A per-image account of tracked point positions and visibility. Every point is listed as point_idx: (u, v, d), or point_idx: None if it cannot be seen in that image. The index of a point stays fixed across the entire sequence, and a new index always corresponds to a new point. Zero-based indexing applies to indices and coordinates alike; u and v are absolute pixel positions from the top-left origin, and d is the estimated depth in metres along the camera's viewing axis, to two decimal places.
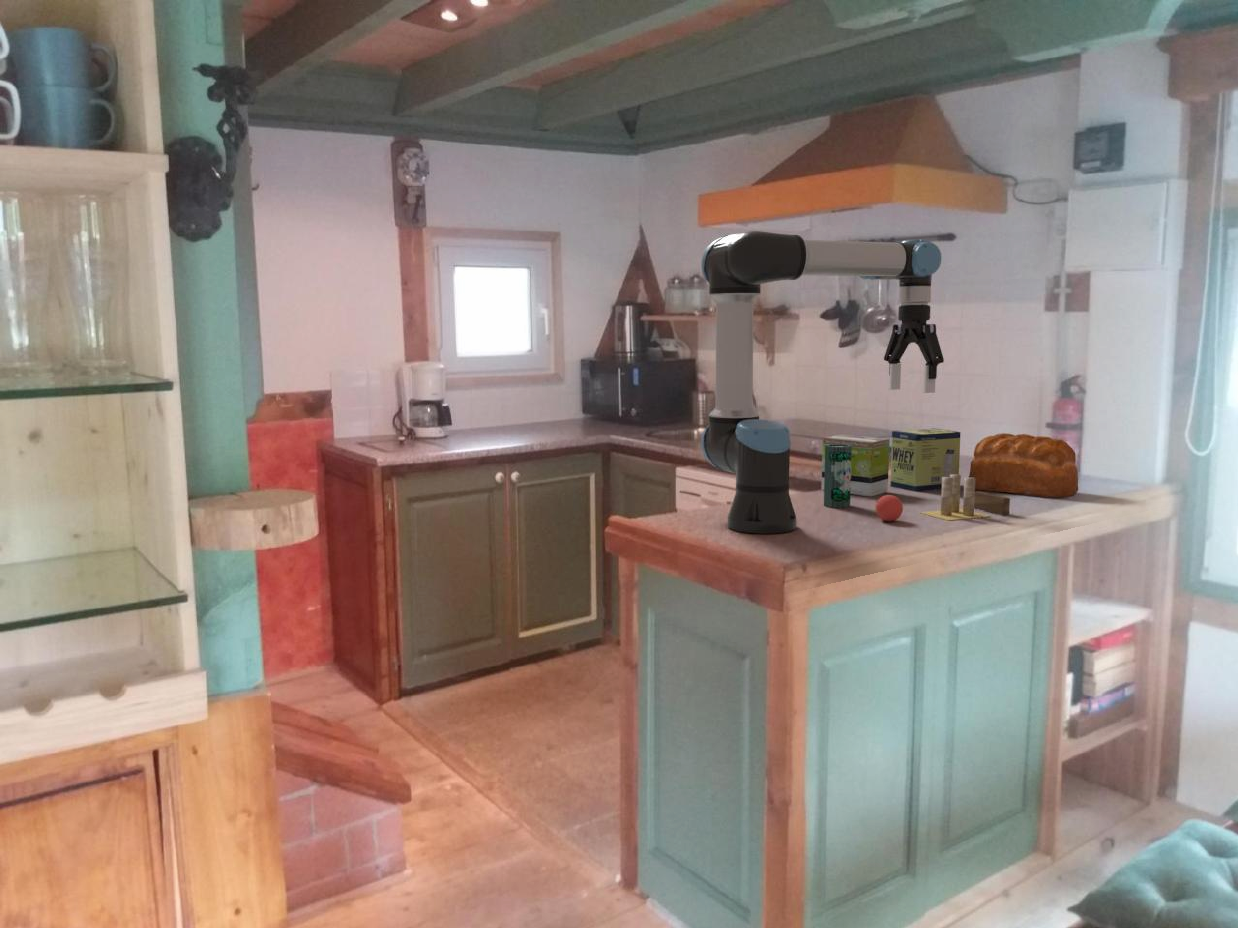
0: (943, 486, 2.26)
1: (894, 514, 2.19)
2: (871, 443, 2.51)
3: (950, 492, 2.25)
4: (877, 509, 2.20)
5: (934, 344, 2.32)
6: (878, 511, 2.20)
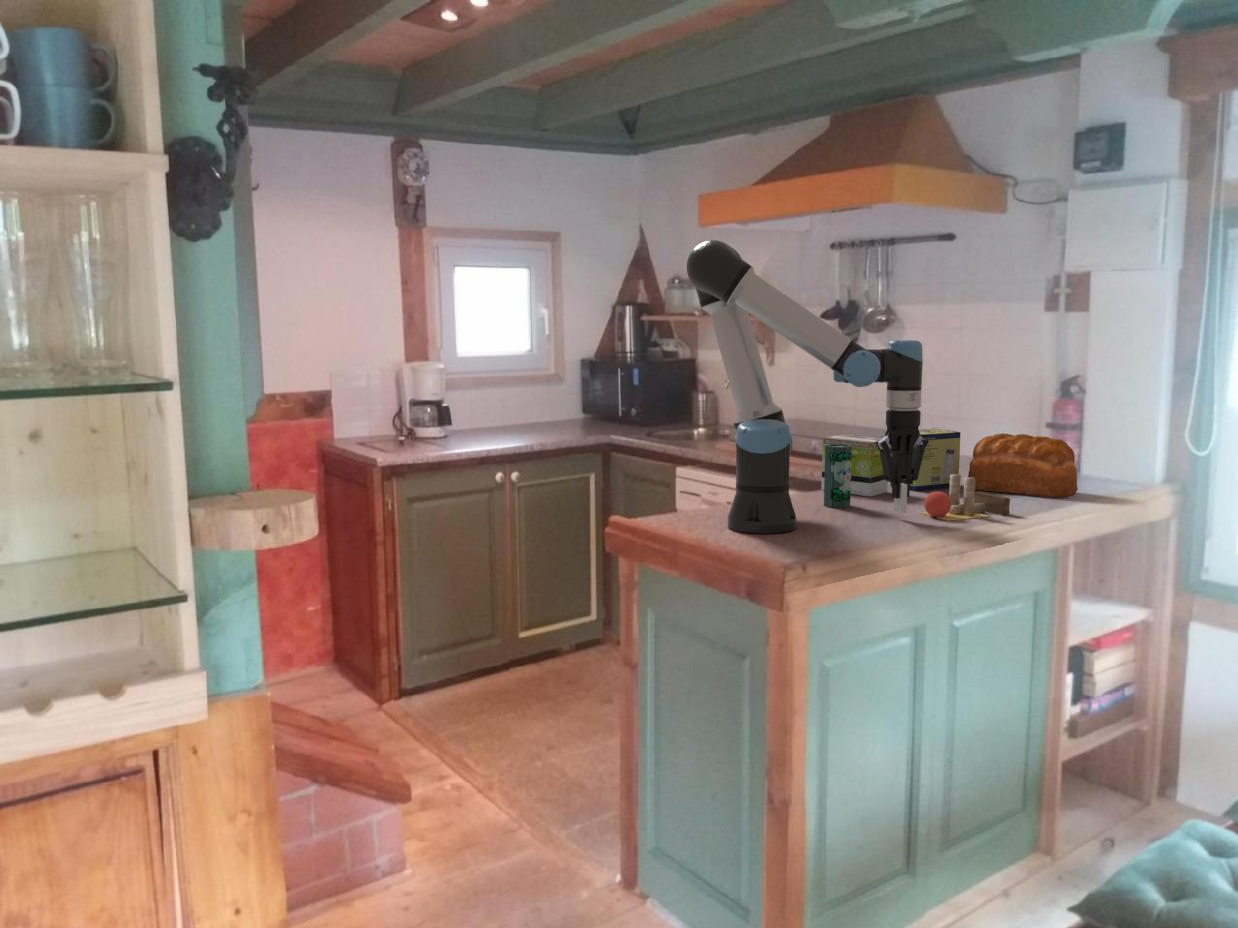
0: (976, 503, 2.30)
1: (949, 505, 2.23)
2: (871, 443, 2.51)
3: (974, 509, 2.29)
4: None
5: (884, 463, 2.19)
6: None
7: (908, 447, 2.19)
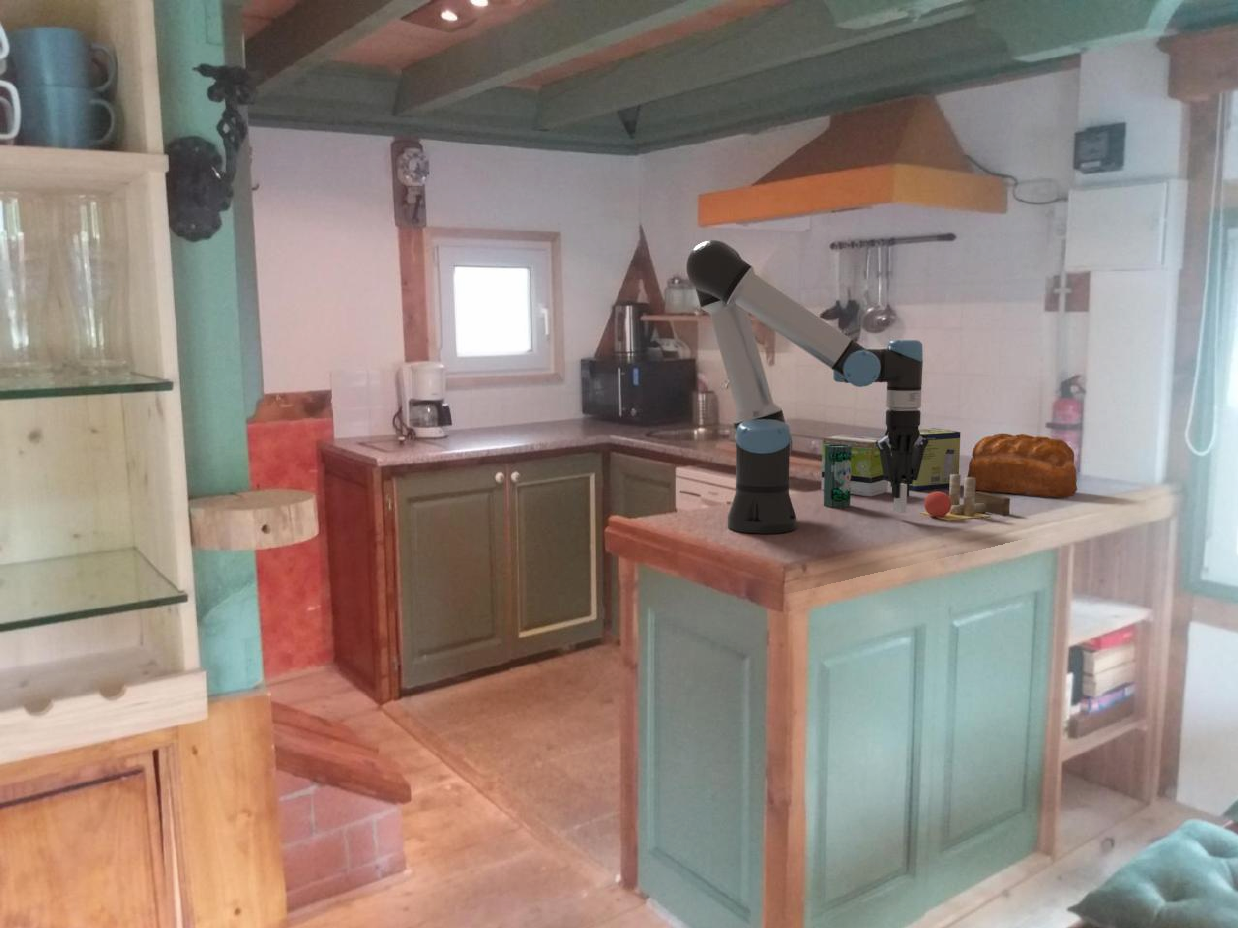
0: (977, 503, 2.30)
1: (949, 505, 2.23)
2: (871, 443, 2.51)
3: (975, 510, 2.28)
4: None
5: (884, 463, 2.19)
6: None
7: (908, 447, 2.19)
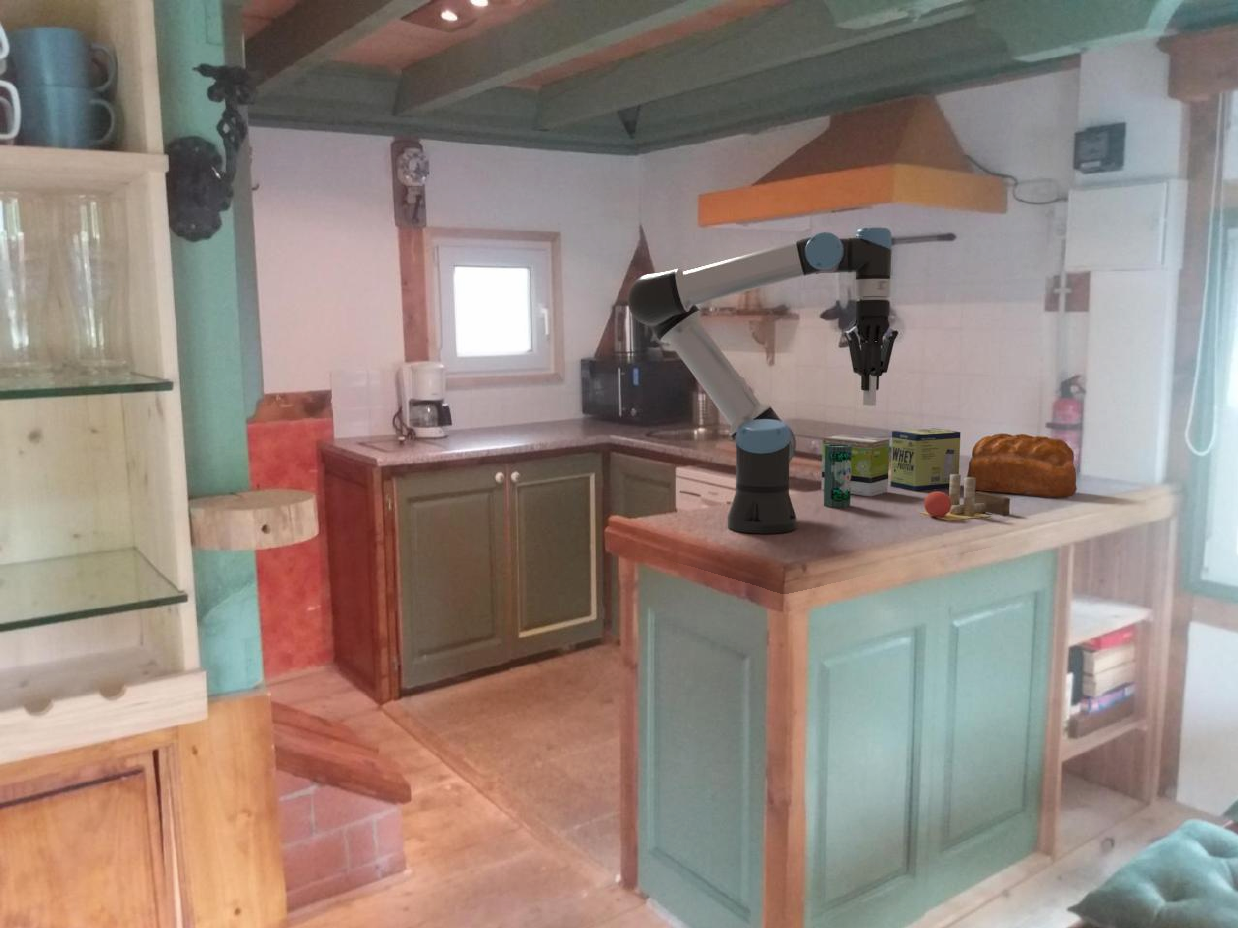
0: (977, 503, 2.30)
1: (949, 505, 2.23)
2: (871, 443, 2.51)
3: (975, 510, 2.28)
4: None
5: (853, 354, 2.16)
6: None
7: (877, 338, 2.16)
